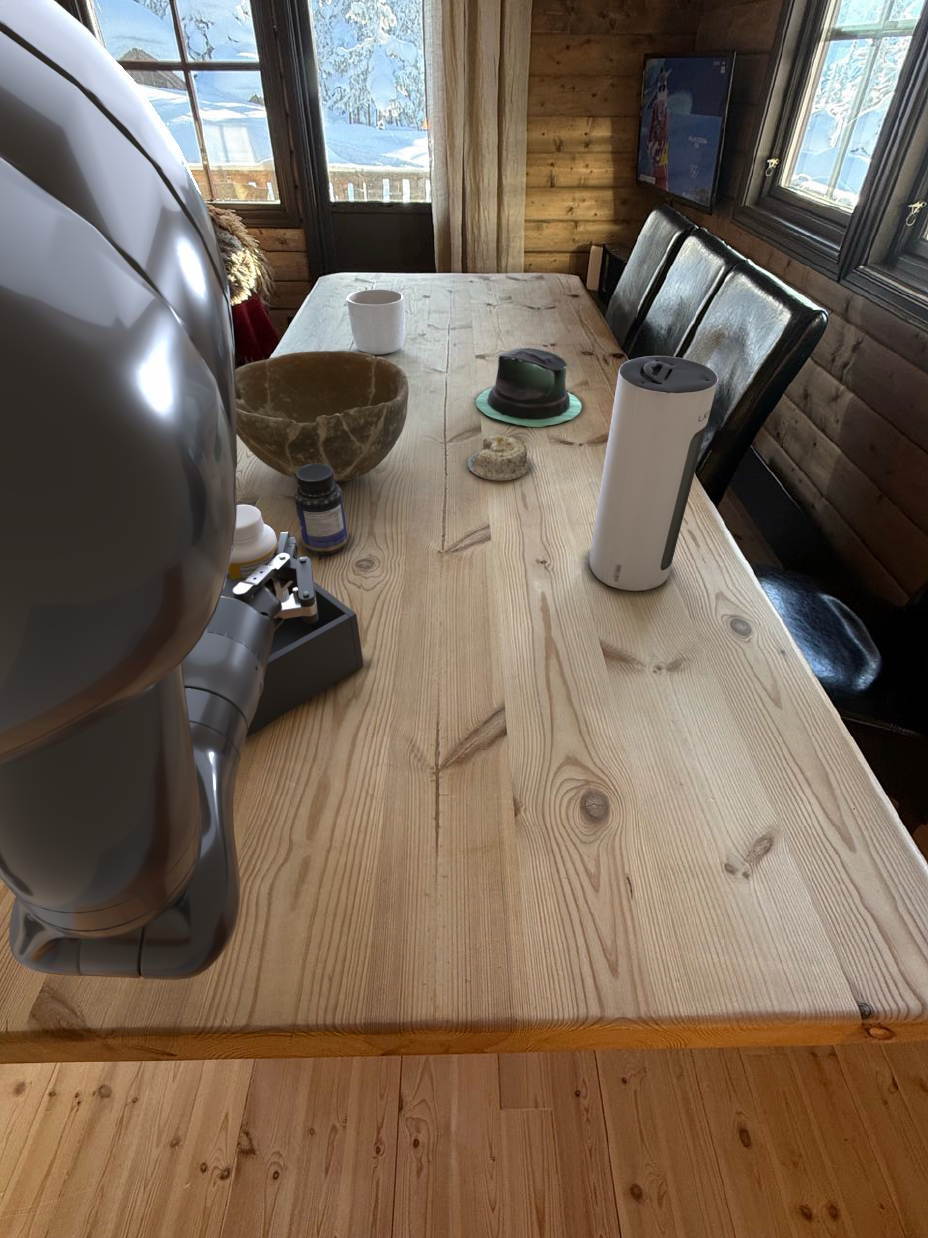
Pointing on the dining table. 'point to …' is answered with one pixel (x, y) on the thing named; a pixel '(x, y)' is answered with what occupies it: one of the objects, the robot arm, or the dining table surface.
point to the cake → (500, 459)
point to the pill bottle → (320, 510)
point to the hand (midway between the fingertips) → (252, 541)
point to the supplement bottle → (252, 544)
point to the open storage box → (308, 658)
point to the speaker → (649, 468)
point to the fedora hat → (530, 390)
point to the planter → (377, 320)
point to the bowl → (321, 410)
